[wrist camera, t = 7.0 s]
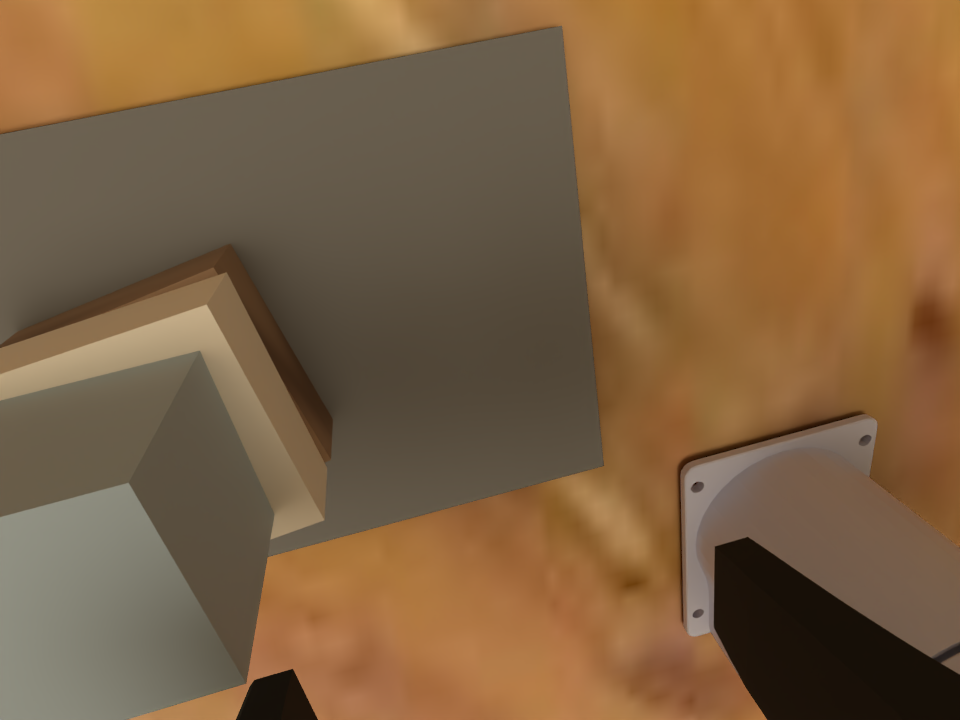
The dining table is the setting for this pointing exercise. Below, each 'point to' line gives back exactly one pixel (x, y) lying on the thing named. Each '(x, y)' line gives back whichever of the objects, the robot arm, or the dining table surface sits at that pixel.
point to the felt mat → (354, 256)
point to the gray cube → (126, 545)
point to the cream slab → (230, 360)
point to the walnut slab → (261, 317)
